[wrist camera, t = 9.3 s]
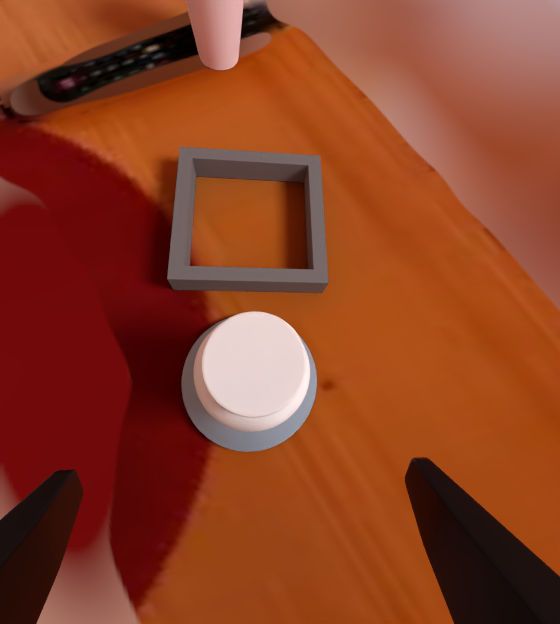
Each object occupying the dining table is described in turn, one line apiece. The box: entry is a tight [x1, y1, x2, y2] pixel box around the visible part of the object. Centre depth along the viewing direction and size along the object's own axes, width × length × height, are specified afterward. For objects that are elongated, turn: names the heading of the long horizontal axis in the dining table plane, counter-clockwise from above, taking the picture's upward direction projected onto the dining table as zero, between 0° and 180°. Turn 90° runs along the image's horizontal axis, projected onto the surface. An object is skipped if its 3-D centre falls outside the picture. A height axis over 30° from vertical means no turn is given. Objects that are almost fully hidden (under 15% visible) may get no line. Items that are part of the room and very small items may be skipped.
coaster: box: [182, 318, 317, 452], centre depth 21 cm, size 9×9×1 cm
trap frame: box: [167, 147, 328, 293], centre depth 24 cm, size 11×11×2 cm
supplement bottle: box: [194, 312, 310, 432], centre depth 16 cm, size 5×5×10 cm
